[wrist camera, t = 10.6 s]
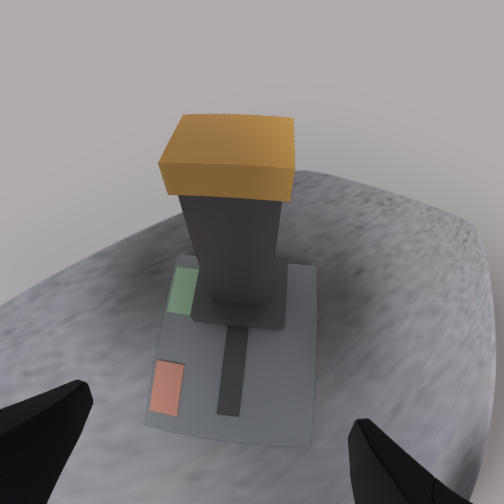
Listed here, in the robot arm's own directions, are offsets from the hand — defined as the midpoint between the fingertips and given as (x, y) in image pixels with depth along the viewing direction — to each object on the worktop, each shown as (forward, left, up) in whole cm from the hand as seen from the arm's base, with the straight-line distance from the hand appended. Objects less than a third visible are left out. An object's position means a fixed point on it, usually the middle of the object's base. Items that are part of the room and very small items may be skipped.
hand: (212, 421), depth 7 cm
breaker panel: (+4, 0, -8) cm, 9 cm away
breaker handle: (+7, 0, -6) cm, 9 cm away
